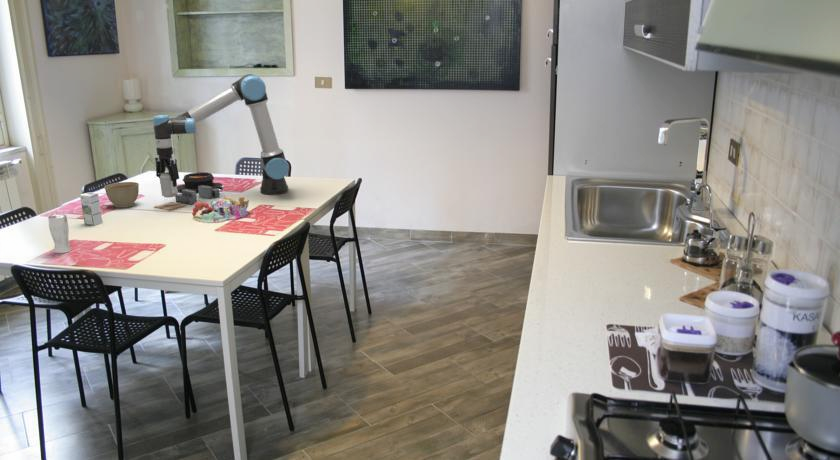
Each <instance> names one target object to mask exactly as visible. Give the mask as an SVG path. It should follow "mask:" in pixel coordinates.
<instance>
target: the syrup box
mask: <svg viewBox="0 0 840 460" xmlns="http://www.w3.org/2000/svg"><path fill="white" fill-rule="evenodd" d="M79 198H80V203H81V210H82V215H83V221H84V225H87V226H96V225H99V224H102V222H104V221H103V217H102V210H101V205H100V204H101V203H100V197H99V193H98V192H88V191H87V192H85V193H82V194H79Z"/></svg>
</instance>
